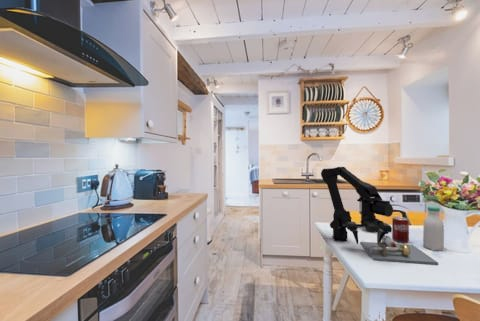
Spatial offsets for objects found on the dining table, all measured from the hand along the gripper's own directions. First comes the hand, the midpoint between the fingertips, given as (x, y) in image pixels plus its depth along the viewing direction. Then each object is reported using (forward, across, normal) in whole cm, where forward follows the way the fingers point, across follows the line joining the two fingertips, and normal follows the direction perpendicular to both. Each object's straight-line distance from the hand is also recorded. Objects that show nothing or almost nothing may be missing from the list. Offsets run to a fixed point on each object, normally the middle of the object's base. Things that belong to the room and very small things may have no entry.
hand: (367, 244), depth 113 cm
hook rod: (+1, +7, -6) cm, 9 cm away
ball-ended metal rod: (+1, +10, +3) cm, 10 cm away
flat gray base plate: (+3, +11, -2) cm, 11 cm away
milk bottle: (+3, +32, +8) cm, 33 cm away
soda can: (+3, +21, +16) cm, 27 cm away
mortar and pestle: (+3, +11, +32) cm, 34 cm away
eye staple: (+3, +4, -6) cm, 8 cm away
